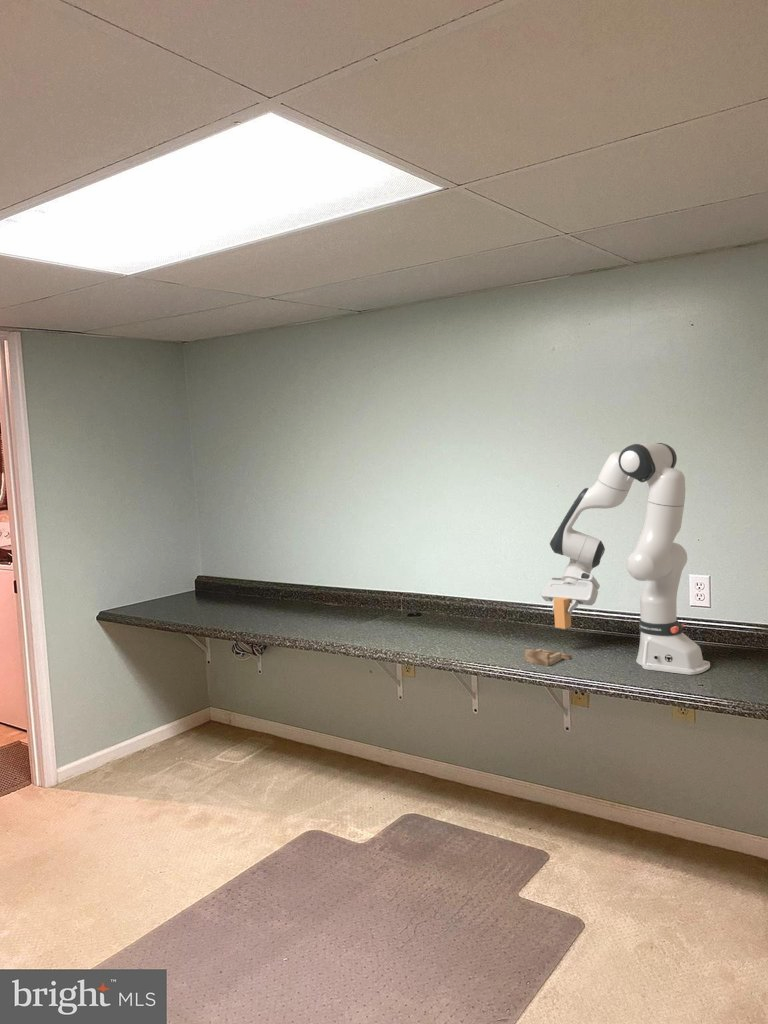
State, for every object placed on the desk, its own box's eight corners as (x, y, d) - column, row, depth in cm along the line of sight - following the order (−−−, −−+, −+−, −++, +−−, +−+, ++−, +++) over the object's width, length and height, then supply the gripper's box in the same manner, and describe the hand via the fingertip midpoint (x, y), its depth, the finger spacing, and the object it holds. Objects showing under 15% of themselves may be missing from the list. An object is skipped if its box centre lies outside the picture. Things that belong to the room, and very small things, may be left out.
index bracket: (561, 659, 261) (561, 648, 260) (547, 666, 255) (547, 654, 254) (539, 655, 267) (539, 644, 266) (525, 661, 261) (525, 650, 261)
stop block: (571, 626, 269) (569, 598, 268) (565, 628, 266) (563, 600, 266) (561, 625, 272) (559, 597, 271) (555, 627, 269) (553, 599, 269)
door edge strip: (571, 658, 262) (570, 654, 262) (568, 659, 261) (568, 656, 261) (540, 652, 270) (540, 649, 270) (538, 653, 269) (538, 650, 269)
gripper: (546, 572, 280) (532, 604, 274) (596, 575, 266) (583, 609, 259) (553, 582, 284) (540, 614, 278) (604, 586, 269) (590, 619, 263)
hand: (561, 611), depth 268 cm, fingers closed on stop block, 4 cm apart
